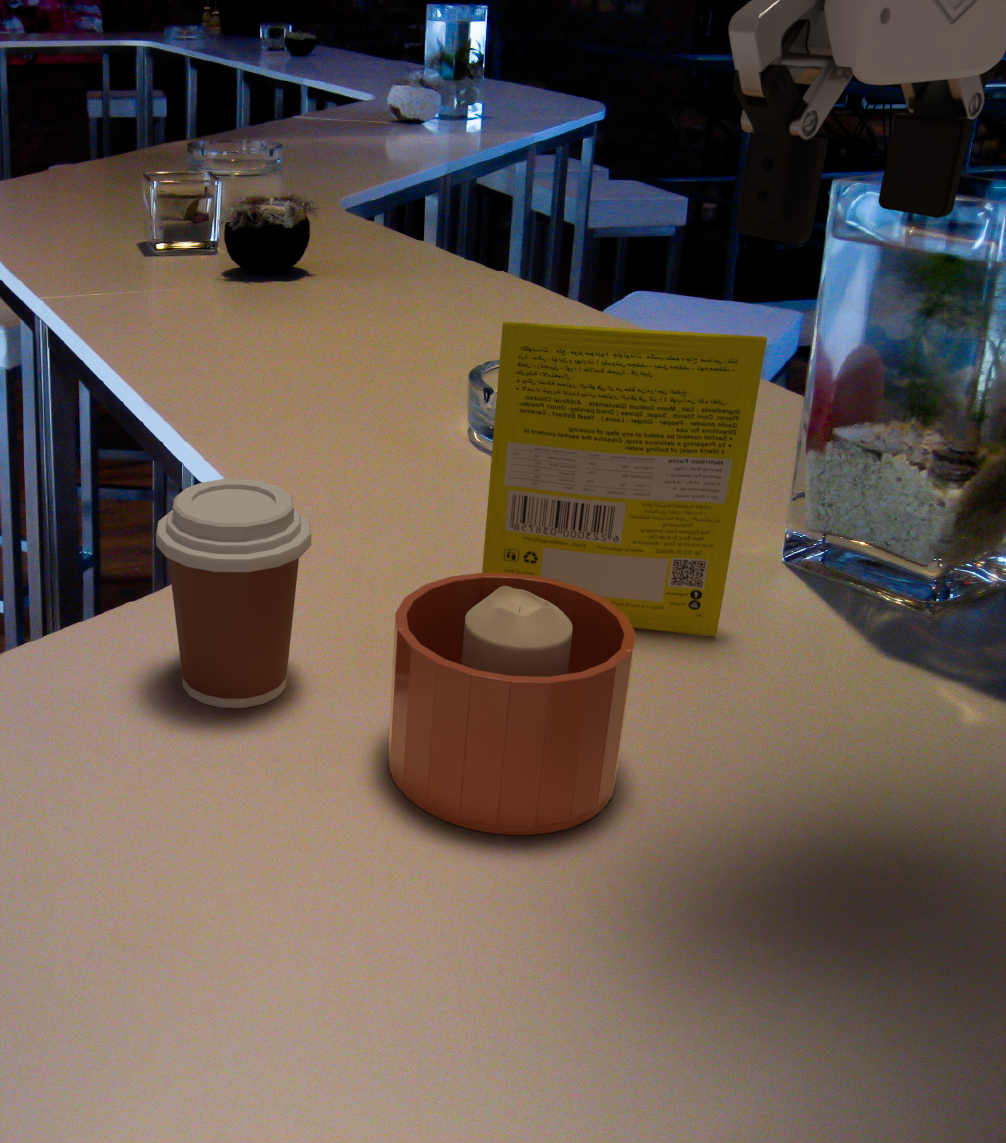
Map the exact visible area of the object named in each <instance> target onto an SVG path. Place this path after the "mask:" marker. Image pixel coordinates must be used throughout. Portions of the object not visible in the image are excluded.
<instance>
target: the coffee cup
mask: <svg viewBox="0 0 1006 1143" xmlns="http://www.w3.org/2000/svg"><path fill="white" fill-rule="evenodd" d="M155 546H156V547H157V548H158V549H159V551H160V552H161V553H162V554H163V555H164V556H165V557H166V558H167V559H168V566H169V574H170V583H171V584H170V585H171V592H172V600H173V607H174V608H173V610H174V617H175V626H176V633H177V634H176V635H177V643H178V644H177V645H178V651H179V660H180V669H181V678H182V688H183V689H184V691H185V692H186V693H187V695H188V696H189V697H191V698H193V699H195V700H197V701H198V702H200V703H202V704H204V705H208V706H213V707H217V708H222V709H246V708H251V707H256V706H261V705H265V704H267V703H269V702H271V701H272V700H274V699H276V698H278V697H280V696H281V694H282V693H283V691H284V690H285V689H286V688H287V677H288V668H289V658H290V649H291V639H292V638H291V637H292V630H293V622H294V621H293V620H294V610H295V603H296V602H295V600H296V591H297V581H298V573H299V563H300V558H302V556H303V555H304V554H305V553H306V552H307V551H308V549H310V547H311V546H312V528H311V522H310V520H309V519H307V518H306V517H305V516H304V515H303V514H302V513H300V512H299V510H297V509H295V501H294V497H292V495H290V494H289V493H288V492H287V491H285V489H283V488H282V487H280V486H277V485H275V484H271V483H269V482H266V481H261V480H254V479H248V478H221V479H216V480H209V481H202V482H199V483H197V484H193V485H191V486H188V487H185V489H184V490H182V491H181V492H180V493H178V494H177V495H176V496H175V497H174V498H173V504H172V509H171V510H170V511H169V512H168V513H167V514H166V515H164V516H163V517H161V519H160V520H158V522H157V527H156V532H155Z"/></svg>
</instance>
